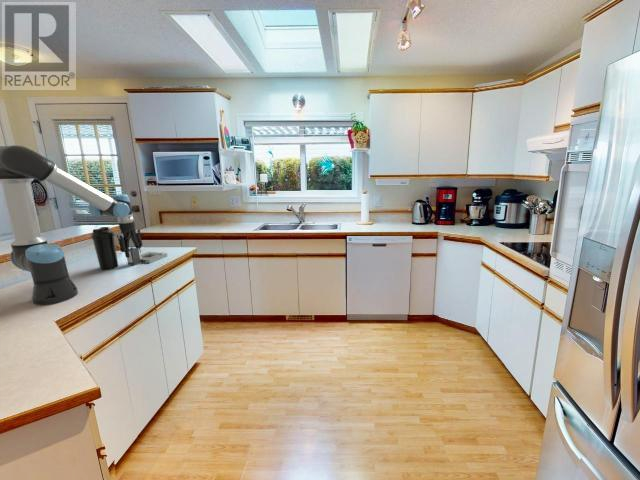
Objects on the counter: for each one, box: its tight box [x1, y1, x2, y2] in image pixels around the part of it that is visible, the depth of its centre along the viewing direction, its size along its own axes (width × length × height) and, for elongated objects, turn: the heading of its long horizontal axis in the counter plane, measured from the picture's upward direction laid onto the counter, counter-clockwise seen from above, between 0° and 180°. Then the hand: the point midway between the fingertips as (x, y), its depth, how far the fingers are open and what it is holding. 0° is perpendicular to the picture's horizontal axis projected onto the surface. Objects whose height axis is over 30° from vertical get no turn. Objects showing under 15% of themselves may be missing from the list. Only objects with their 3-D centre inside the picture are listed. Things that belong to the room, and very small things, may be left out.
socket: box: [140, 251, 168, 264], centre depth 184 cm, size 14×14×3 cm
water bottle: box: [91, 226, 119, 271], centre depth 167 cm, size 10×10×23 cm
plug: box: [127, 246, 142, 266], centre depth 174 cm, size 4×4×10 cm
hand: (134, 260), depth 175 cm, fingers open, 5 cm apart
